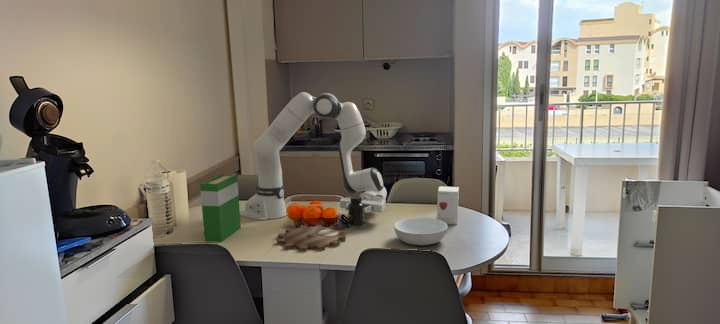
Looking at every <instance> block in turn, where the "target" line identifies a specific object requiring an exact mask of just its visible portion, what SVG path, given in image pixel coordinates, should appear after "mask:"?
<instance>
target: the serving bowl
mask: <svg viewBox="0 0 720 324" xmlns="http://www.w3.org/2000/svg"><path fill="white" fill-rule="evenodd" d="M393 227H394V232H395V235H396V237H398V239H399V240H401V241H402V242H404V243H406V244H409V245H415V246H429V245H433V244H436V243H439V242H440V241H441V240H443V238H445V237H446V235H447V232H448V227H449V226H448V224H446V223H445V222H443V221H441V220H438V219H437V218H432V217H408V218H403V219H400V220H397V221H396V222H395V223H394V225H393Z"/></svg>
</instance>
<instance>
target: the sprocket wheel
mask: <svg viewBox="0 0 720 324" xmlns="http://www.w3.org/2000/svg"><path fill="white" fill-rule="evenodd" d="M284 231H285V233H278V234H277V235H276V237H277V239H276V244H277V245H278V246H282V245H283V249H284V250H288V251H289V250H293V249H297V250H299V252H303V253H307V252H308V250H317V251H318V252H321V251H325V250H326V248H327V247H333V248H337V247H339V246H341V242H346V240H347V235H346V231H345V230H344V229H340V230H337V226H333V225H331V226H328V227H326V226H323V224H316V225H315V226H307V225H306V224H305V225H299V227H297V228H295V229H294V228H291V227H289V228H287V229H285V230H284Z"/></svg>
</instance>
